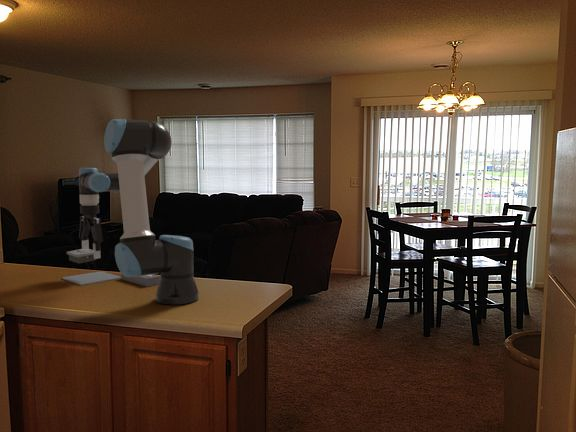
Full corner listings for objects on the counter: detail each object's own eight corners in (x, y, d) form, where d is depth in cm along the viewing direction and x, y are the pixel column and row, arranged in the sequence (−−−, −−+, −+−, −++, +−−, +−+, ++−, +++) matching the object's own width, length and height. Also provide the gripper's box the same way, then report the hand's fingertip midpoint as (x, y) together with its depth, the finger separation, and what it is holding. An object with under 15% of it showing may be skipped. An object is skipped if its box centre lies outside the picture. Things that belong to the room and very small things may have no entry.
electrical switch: (99, 251, 212) (78, 251, 205) (97, 263, 212) (76, 263, 205) (86, 248, 218) (66, 247, 211) (85, 259, 218) (64, 259, 211)
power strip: (159, 284, 206) (159, 274, 205) (146, 287, 201) (146, 277, 201) (133, 277, 219) (133, 267, 219) (121, 279, 215) (120, 269, 214)
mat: (122, 278, 216) (122, 277, 216) (81, 285, 203) (81, 284, 203) (101, 272, 228) (101, 271, 228) (61, 278, 215) (61, 277, 215)
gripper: (111, 205, 208) (112, 259, 210) (85, 202, 223) (87, 252, 225) (93, 206, 202) (95, 261, 205) (69, 203, 217) (70, 254, 220)
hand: (91, 256), depth 215 cm, fingers closed on electrical switch, 10 cm apart
